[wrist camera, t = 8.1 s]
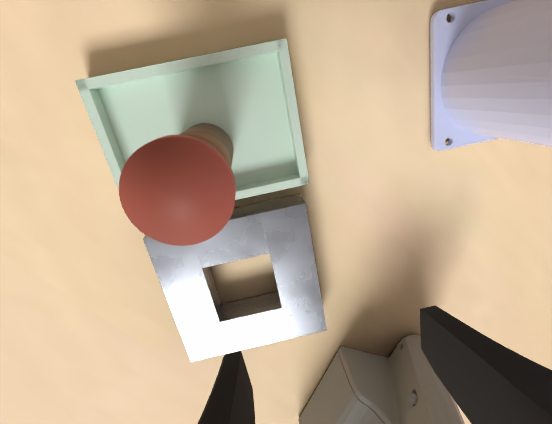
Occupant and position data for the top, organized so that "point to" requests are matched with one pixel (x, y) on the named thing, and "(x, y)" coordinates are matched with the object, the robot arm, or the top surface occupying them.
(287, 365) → the top surface
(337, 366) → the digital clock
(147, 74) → the tray
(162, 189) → the pin
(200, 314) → the socket plate
